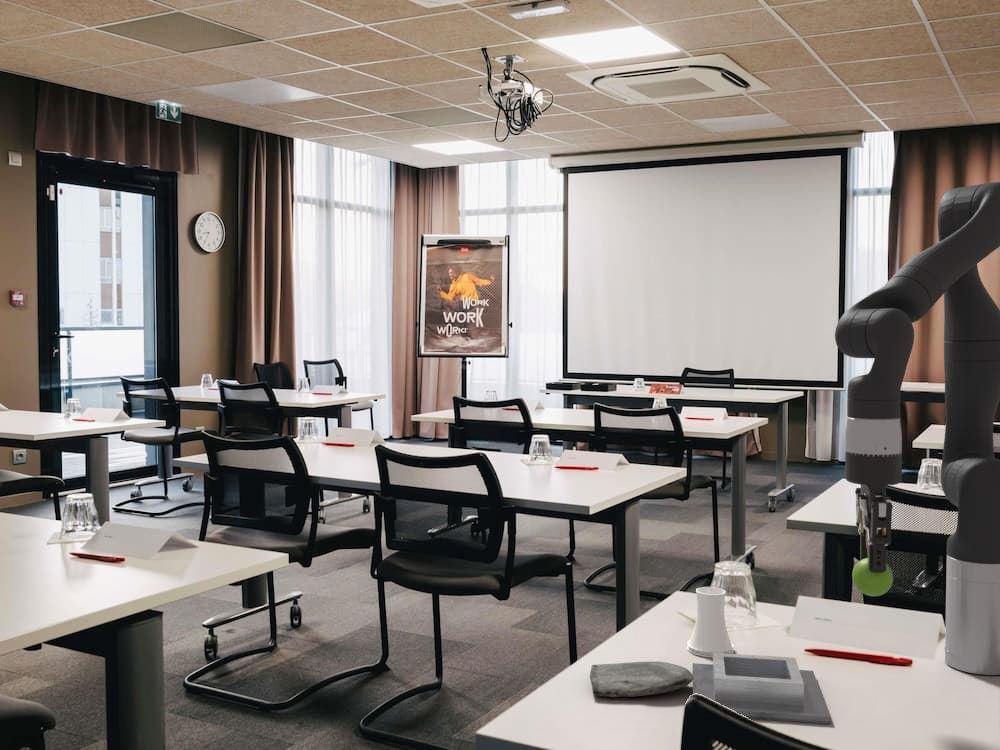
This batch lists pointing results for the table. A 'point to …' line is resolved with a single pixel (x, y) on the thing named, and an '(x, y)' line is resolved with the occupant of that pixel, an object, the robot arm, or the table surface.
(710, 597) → the white flared stand
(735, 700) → the collar block
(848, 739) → the table surface
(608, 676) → the stone
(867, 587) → the snail figurine
